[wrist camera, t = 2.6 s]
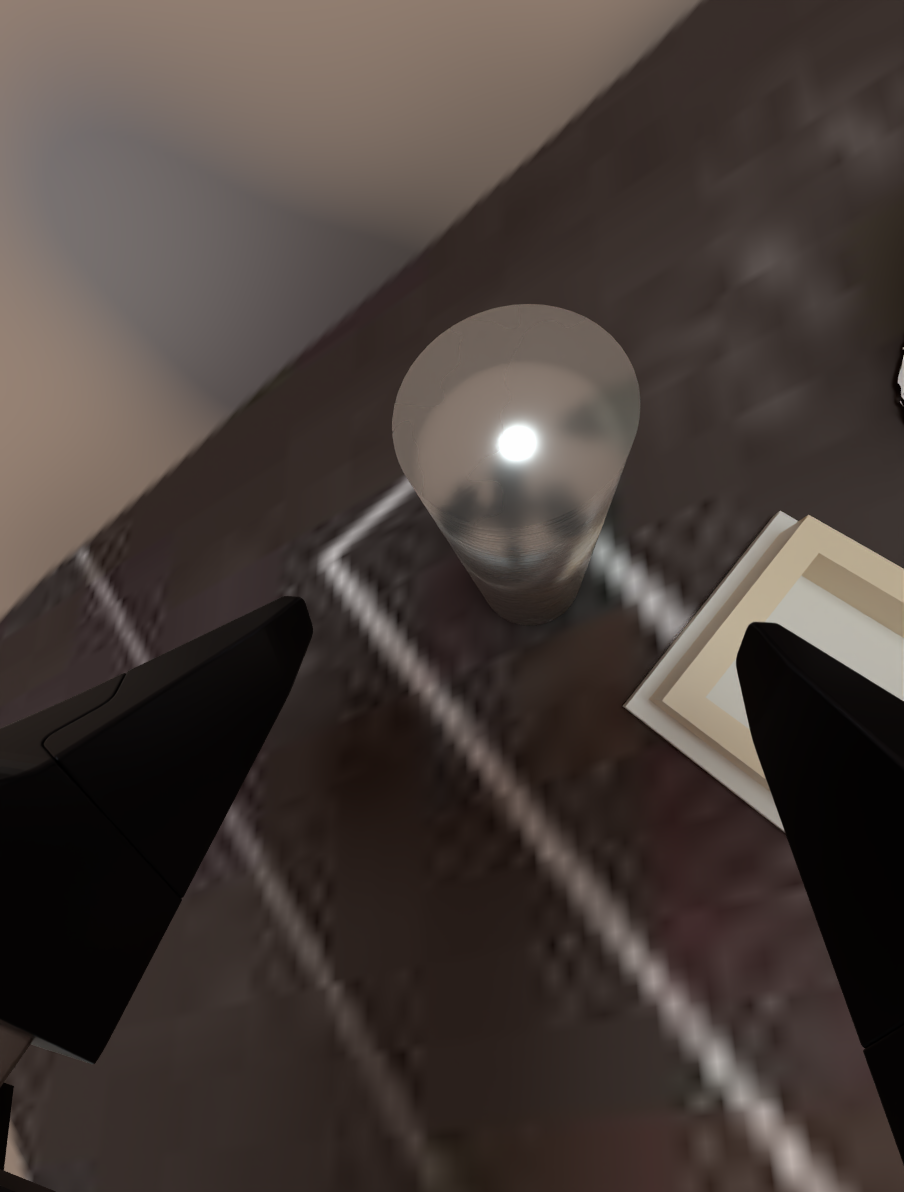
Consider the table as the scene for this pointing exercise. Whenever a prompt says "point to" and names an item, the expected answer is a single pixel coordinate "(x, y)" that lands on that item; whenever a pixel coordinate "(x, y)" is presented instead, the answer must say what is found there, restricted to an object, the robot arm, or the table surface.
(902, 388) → the decorative urn
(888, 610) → the white oblong stand
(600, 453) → the clear drinking glass
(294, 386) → the table surface
